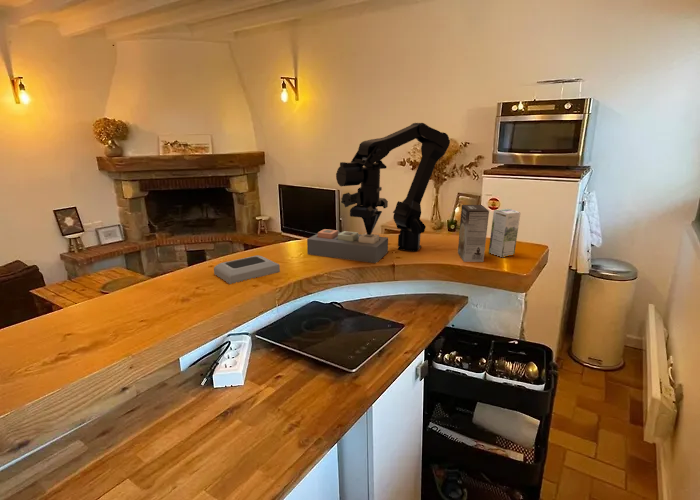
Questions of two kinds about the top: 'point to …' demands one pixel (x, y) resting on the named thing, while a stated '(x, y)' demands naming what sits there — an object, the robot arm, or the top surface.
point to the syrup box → (504, 232)
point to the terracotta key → (328, 234)
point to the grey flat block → (245, 269)
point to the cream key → (369, 238)
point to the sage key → (348, 236)
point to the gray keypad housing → (347, 248)
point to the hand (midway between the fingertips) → (369, 234)
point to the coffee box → (473, 233)
